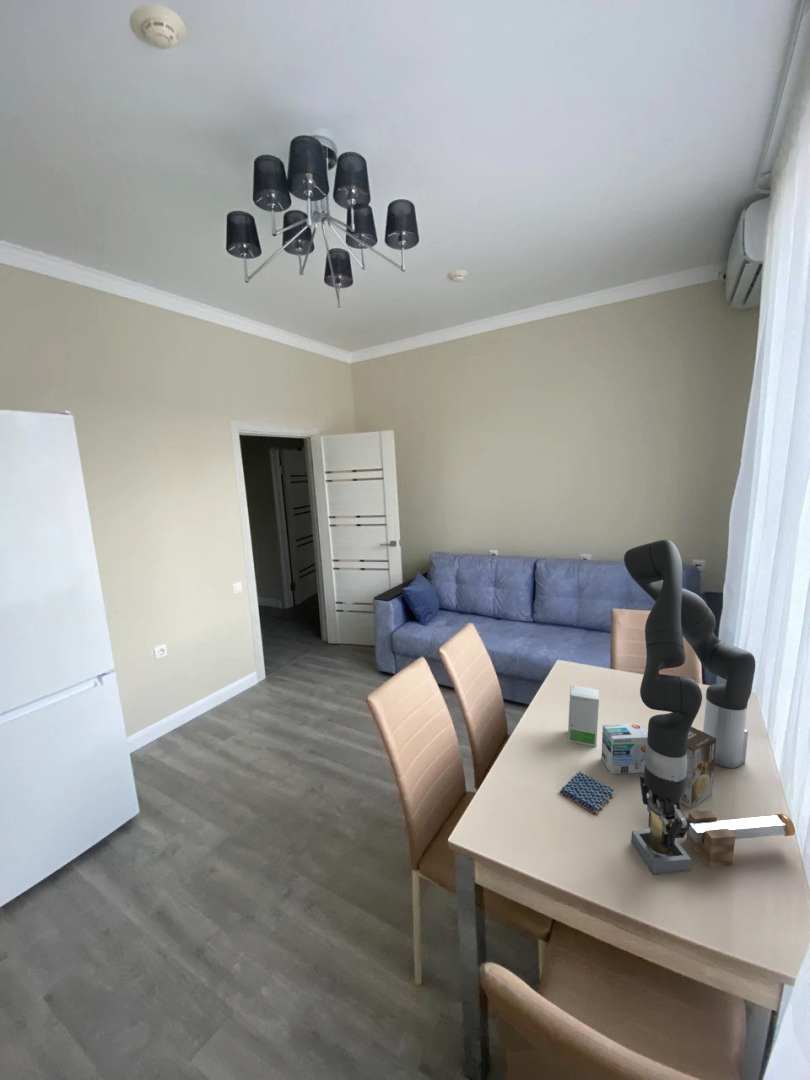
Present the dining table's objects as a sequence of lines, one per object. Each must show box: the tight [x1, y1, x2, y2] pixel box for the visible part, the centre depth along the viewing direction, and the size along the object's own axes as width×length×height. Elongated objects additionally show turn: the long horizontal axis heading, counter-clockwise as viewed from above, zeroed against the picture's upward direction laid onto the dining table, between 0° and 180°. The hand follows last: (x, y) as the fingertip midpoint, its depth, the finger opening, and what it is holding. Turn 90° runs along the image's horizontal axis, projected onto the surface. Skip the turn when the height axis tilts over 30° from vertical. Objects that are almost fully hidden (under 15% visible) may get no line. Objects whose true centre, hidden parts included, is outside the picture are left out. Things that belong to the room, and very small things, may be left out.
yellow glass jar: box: [649, 801, 675, 854], centre depth 94 cm, size 5×5×10 cm
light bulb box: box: [600, 722, 648, 775], centre depth 122 cm, size 11×7×11 cm, turn 90°
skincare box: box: [567, 684, 600, 748], centre depth 134 cm, size 8×7×16 cm
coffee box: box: [680, 726, 716, 809], centre depth 110 cm, size 9×6×16 cm
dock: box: [630, 828, 692, 876], centre depth 95 cm, size 8×8×3 cm
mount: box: [686, 809, 736, 868], centre depth 95 cm, size 5×7×7 cm
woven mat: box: [559, 771, 615, 815], centre depth 113 cm, size 10×11×2 cm
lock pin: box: [689, 813, 796, 843], centre depth 95 cm, size 21×4×4 cm, turn 93°
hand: (660, 837), depth 94 cm, fingers closed on yellow glass jar, 4 cm apart
